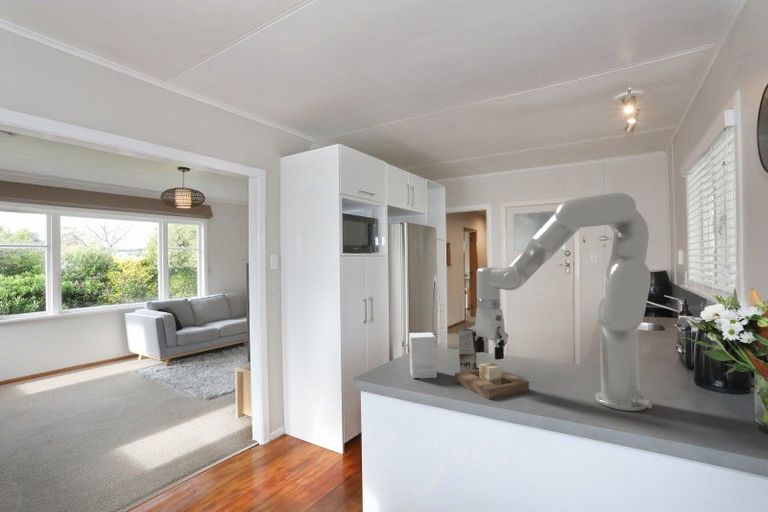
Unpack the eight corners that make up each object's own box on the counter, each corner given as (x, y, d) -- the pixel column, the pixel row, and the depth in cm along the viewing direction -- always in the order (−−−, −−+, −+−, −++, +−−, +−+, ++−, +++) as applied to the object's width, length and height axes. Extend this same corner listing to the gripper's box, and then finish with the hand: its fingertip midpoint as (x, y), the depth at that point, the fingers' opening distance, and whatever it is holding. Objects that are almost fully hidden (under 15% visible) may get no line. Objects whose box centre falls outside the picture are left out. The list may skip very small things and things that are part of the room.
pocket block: (529, 390, 120) (528, 381, 120) (488, 399, 113) (488, 389, 113) (491, 375, 136) (491, 367, 136) (454, 381, 130) (454, 373, 130)
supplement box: (433, 370, 143) (432, 331, 143) (437, 378, 134) (436, 336, 134) (409, 371, 143) (408, 332, 143) (411, 379, 134) (411, 337, 134)
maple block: (501, 387, 124) (501, 366, 124) (489, 389, 122) (488, 368, 122) (491, 383, 128) (491, 362, 128) (479, 385, 126) (479, 364, 126)
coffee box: (477, 374, 138) (476, 330, 138) (459, 373, 139) (458, 330, 139) (476, 367, 147) (475, 326, 147) (459, 366, 148) (458, 325, 148)
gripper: (515, 306, 119) (516, 360, 119) (481, 301, 134) (482, 348, 134) (497, 308, 116) (497, 363, 116) (463, 302, 132) (464, 350, 131)
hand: (489, 355), depth 125 cm, fingers open, 9 cm apart
